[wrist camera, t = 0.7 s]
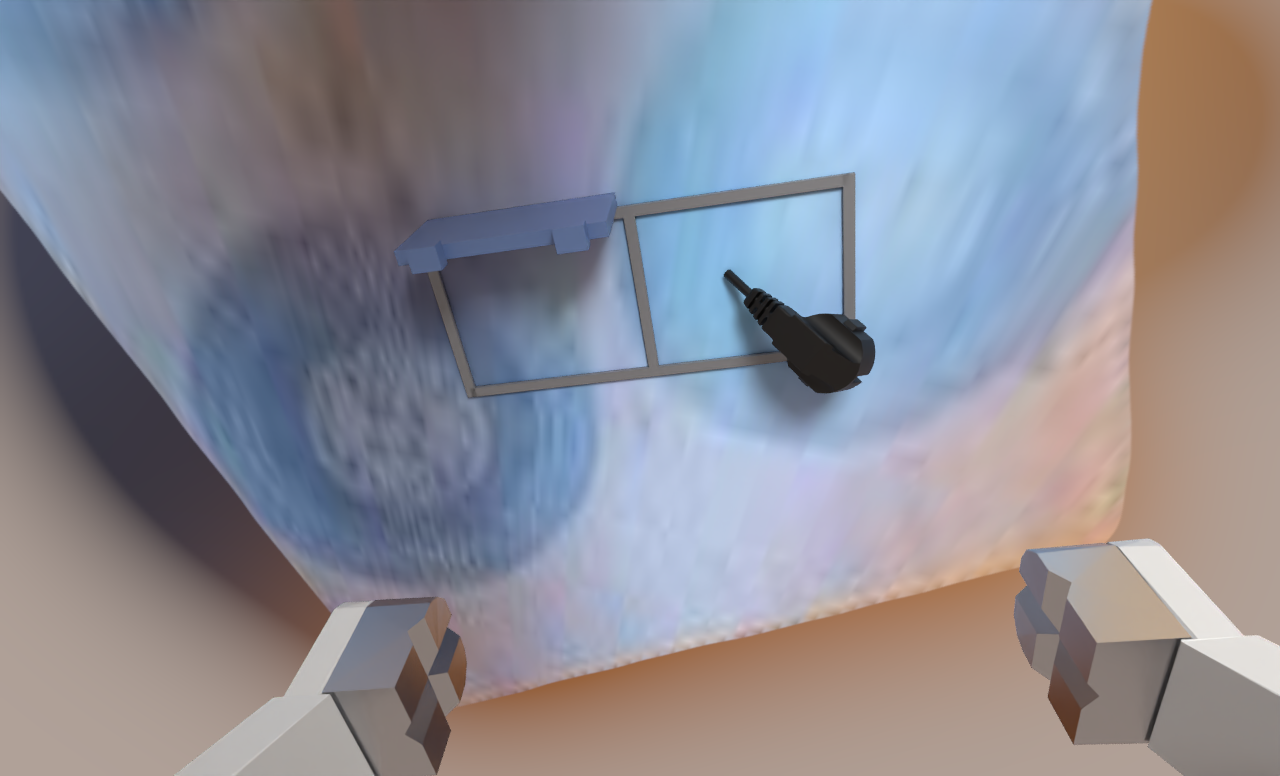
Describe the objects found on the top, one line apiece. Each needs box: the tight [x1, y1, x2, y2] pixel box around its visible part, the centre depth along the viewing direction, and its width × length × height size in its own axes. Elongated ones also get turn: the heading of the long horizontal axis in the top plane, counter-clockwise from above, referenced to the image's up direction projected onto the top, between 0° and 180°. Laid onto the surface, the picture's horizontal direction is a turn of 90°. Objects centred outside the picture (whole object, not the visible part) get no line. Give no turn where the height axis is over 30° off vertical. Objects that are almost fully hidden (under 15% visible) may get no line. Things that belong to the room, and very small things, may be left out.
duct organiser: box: [394, 172, 855, 397], centre depth 49 cm, size 15×32×8 cm, turn 99°
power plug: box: [724, 270, 875, 393], centre depth 51 cm, size 6×8×12 cm
